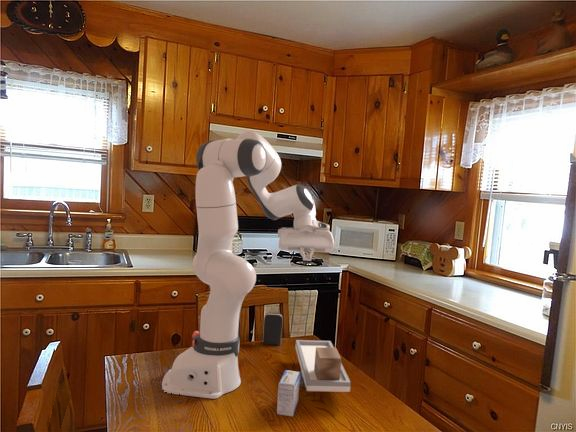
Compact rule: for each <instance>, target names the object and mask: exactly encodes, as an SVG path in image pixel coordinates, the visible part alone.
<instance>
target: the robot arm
mask: <svg viewBox="0 0 576 432" xmlns="http://www.w3.org/2000/svg"><path fill="white" fill-rule="evenodd" d="M195 157H196V158H195V160H196V161H195V162H196V166H197V169H198V171H197V173H196V178H195V179H196V180H195V207H196V217H197V225H198V226H197V227H198V240H197V247H196V248H197V249H196V254H194V256H193V258H192V264H191V266H192V270H193V272H194V274H195V276H196V277H197V278H198V279H199V280H200V281H201V282H203V283H204V284H206V285H208V286H209V289H210V291H209V296H208V299H207V302H206V304H205V305H203V307H202V308H201V312H200V324H199V325H200V327H199V331H198V330H194V332H193V334H192V340H191V341H192V343H191V346H190V347H189V348H187V349H186V350H185V351H183V352H182V353H180V354H178V355H177V357H176V358H175V359H174V362H173V364H172V367H171V368H170V369H169V370H168V371H167V372H166V373H165V374H164V376H163V378H162V383H161V389H162V391H163V390H164V391H163V392H164V393H165V392H167V393H166V394H171V393H172V394H173V395H179V394H180V396H181V395H182V396H186V397H188V396H189V397H196V398H204V399H211V400H213V399H218V398H220V397H221V396H222V395H224V394H227V393H230V392H233V391H234V390H237V388H238V387H239V386H240V385H241V383H242V379H241V377H240V376H241V375H240V370H239V359H238V357H239V356H238V355H239V353H240V335H239V329H240V328H239V325H240V324H239V323H240V315H241V309H242V304H243V301H244V299H245V297H246V296H247V294H249V293H250V292H251V291H252V289H254V287H255V284H256V282H257V272H256V270H255V267H254V266H253V264H251V263H249V261H248V260H246V259H245V257H244V258H243V257H242V256H239V255H236V254H234V253H233V243H234V242H233V241H234V237H235V235H237V233H238V230H239V220H238V209H237V201H236V200H237V199H236V192H235V186H234V183H233V182H234V179H235V178H241V177H247V178H246V179H247V184H248V186H249V188H250V190H251V192H252V194H253V196H254V197H255V198H256V200H257V201H258V203H259V205H260V207H261V209H262V211H263V213H264V215H265V217H267V218H269V219H271V220H272V221H277V220H278V219H280V218H284V217H287V216H289V215H292V214H293V218H294V219H293V227H285V226H284V227H280V228H278V230H277V235H278V237H279V240H278V249H280V251H293V252H294V251H295V252H298V253H299V254H300V256H301V257H302V261H307V262H312V257H313V255H314V254H315V253H328V254H330V253H332V252H333V251H334V249H335V239H334V236H333V233H332V232H331V231H330V224H328V223H325V222H321V221H319V220H317V218H316V216H317V211H316V203H315V200H314V198H313V195H312V193H311V191H310V190H309V188H307V187H305V186H304V185H302V184H294V185H291V186H289V187H287V188H284V189H281V190H278V191H275V192H269V191H268V189H267V188H266V187H267V186H268V185H269V184H271V183H273V182H274V181H275V180H276V178H278V176H279V174H280V172H281V169H282V160H281V157H280V155H279V154H278V152H277V151H276V150H275V149H274V147H273V146H272V145H271V144H270V143H269V142H268V141H267V140H266V138H264V137H263V136H262V135H260V134H259V133H258V132H256V131H253V130H245V131H243V132H242V133H240V134H239V135H238V136H237V137H236V138H223V139H217V140H209V141H206V142H204V143H202V144H200V145H199V147H198V149H197V152H196V155H195ZM305 252H308V253H309V254H307V253H305Z"/></svg>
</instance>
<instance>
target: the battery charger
mask: <svg viewBox="0 0 576 432" xmlns="http://www.w3.org/2000/svg"><path fill="white" fill-rule="evenodd" d="M283 321H284V320H283V315H282V314H281V313H280V312H266V313H265V314H264V317H263V335H262V344H264V345H265V344H266V345H274V346H275V345H276V346H277V345H278V346H279V345H281V344H282V333H283V332H282V331H283Z"/></svg>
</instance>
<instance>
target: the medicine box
mask: <svg viewBox="0 0 576 432" xmlns="http://www.w3.org/2000/svg"><path fill="white" fill-rule="evenodd" d="M279 380H280V381H279V382H278V389H277V404H276V414H277V415H281V416H287V417H294V414H295V412H296V408H297V405H298V404H299V393H300V372H298V371H295V370H290V369H289V370H288V369H285V370H284V372H283V374H282V376H281V378H280V379H279Z"/></svg>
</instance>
